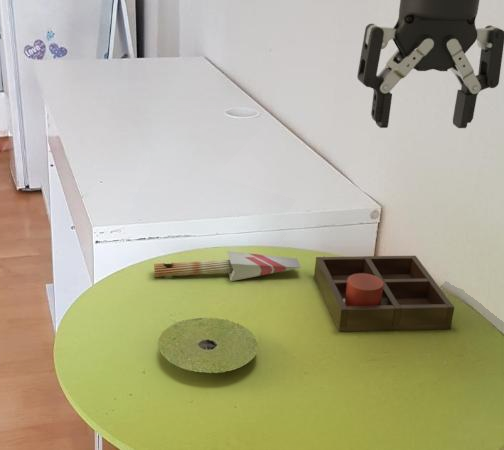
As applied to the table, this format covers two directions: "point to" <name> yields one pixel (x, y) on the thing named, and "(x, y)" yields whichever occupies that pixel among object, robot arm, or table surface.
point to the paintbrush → (230, 266)
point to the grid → (384, 294)
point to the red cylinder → (363, 290)
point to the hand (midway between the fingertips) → (420, 126)
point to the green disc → (208, 345)
